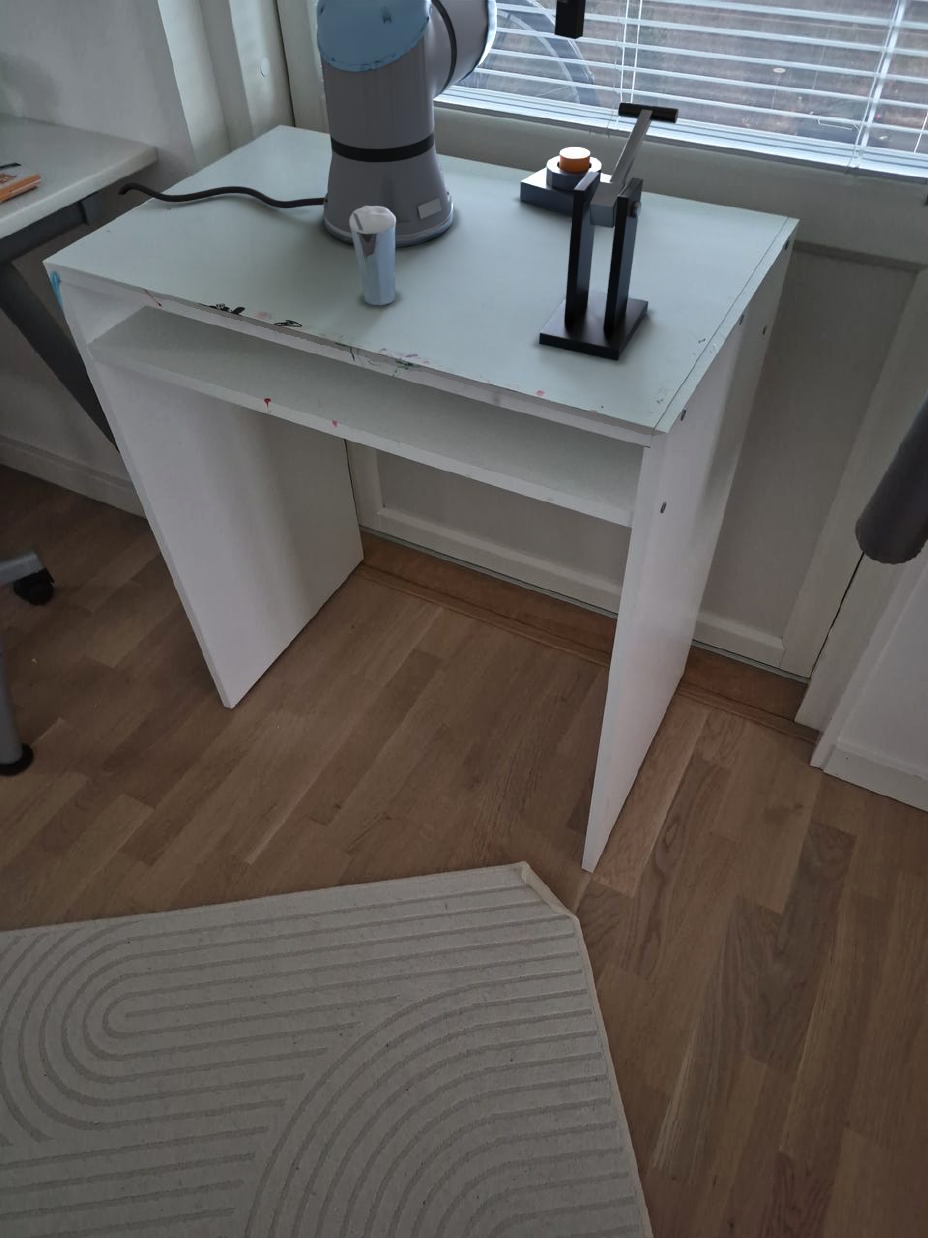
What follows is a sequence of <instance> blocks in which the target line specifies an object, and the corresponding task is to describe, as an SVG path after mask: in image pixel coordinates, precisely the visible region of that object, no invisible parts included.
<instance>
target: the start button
mask: <svg viewBox="0 0 928 1238" xmlns="http://www.w3.org/2000/svg"><path fill="white" fill-rule="evenodd" d="M559 156H560V161H559V168H560V169H561V170H564V171H568V172H581V171H586V170H588V169H589V165H590V157H591V151H590V150H588V149H586V148H585V147H578V146H570V147H565V148H563V149H561V150H560V152H559Z"/></svg>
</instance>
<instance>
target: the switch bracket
mask: <svg viewBox="0 0 928 1238" xmlns="http://www.w3.org/2000/svg"><path fill="white" fill-rule="evenodd" d="M599 178H600V173H599V172H593V171H589V172H588V174H587V175H586V176H585V177H584V178H583V179H582V181H581V182H580V183H579V184H578V185H577V186H576V188H575V189H574V194H573V202H572V205H573V208H572V216H571V220H570V221H571V223H570V225H571V226H570V236H569V251H568V262H567V263H568V265H567V275H566V276H567V278H566V289H565V290H566V292H565V298H564V299H563V301H562V302H561V303H560V305H559V306H558V307H557V309H556V310H555V312H554V313H553V314H552V316H551V317H550V319H549V320H548V321H547V322H546V324H545V325H544V327H543V328H542V329H541V330H540V331H539V338H538V339H539V340H538V342H539V343H538V344H539V345H543V346H548V347H551V348H557V349H561V350H565V351H571V352H576V353H580V354H585V355H589V356H593V357H597V358H603V359H606V360H612V361H616V362H617V361H619V359H620V358H621V356H622V355H623V353H624V351H625V350H626V348H627V346H628V345H629V343H630V341H631V339H632V338H633V336H634V334H635V333H636V331H637V330H638V328H639V326H640V325H641V323H642V321H643V319H644V318H645V316H646V315H647V313H648V307H649V300H645V299H641V298H634V297H629V293H630V284H631V276H632V271H633V269H632V268H633V262H634V253H635V246H636V240H637V239H636V238H637V231H638V223H639V222H638V221H639V217H640V214H641V212H642V211H641V210H642V201H641V199H642V191H643V184H644V178H639V177H631V179H630V180H629V182H627V184H625V188H624V189H623V191H622V192H621V193H620V194H619V196H618V200H617V209H616V218H615V226H614V228H613V236H612V237H613V238H612V247H611V254H610V255H611V256H610V263H609V264H610V265H609V273H608V283H607V291H606V292H603V291H597V290H592V289H590V285H591V284H590V283H591V275H592V274H591V272H592V261H593V254H594V253H593V250H594V241H595V231H596V230H595V229H596V225H591V224H590V202H591V200H592V197H593V195H594V193H595V191H596V189H597V186H598V184H599Z"/></svg>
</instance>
